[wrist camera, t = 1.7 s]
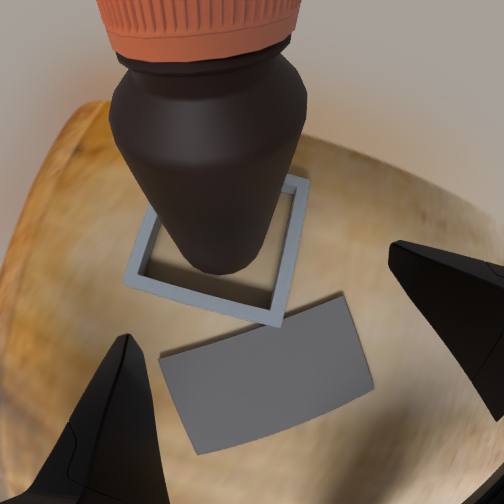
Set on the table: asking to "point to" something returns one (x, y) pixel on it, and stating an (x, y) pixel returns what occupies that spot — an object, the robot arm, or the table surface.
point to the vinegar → (207, 117)
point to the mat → (268, 378)
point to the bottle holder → (215, 304)
